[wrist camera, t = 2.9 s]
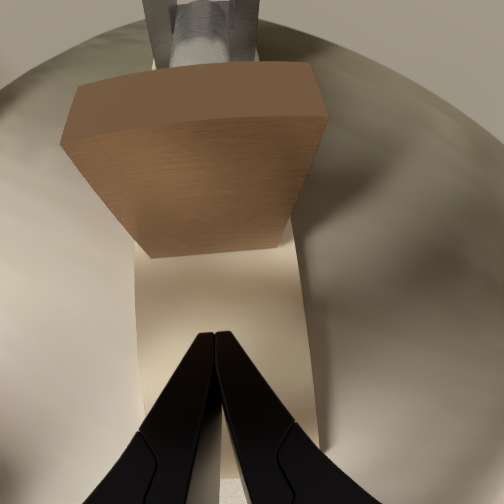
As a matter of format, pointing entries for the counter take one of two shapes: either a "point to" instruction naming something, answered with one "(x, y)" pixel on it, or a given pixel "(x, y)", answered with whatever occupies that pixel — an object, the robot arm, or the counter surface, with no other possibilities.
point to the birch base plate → (227, 322)
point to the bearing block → (238, 23)
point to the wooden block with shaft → (199, 143)
